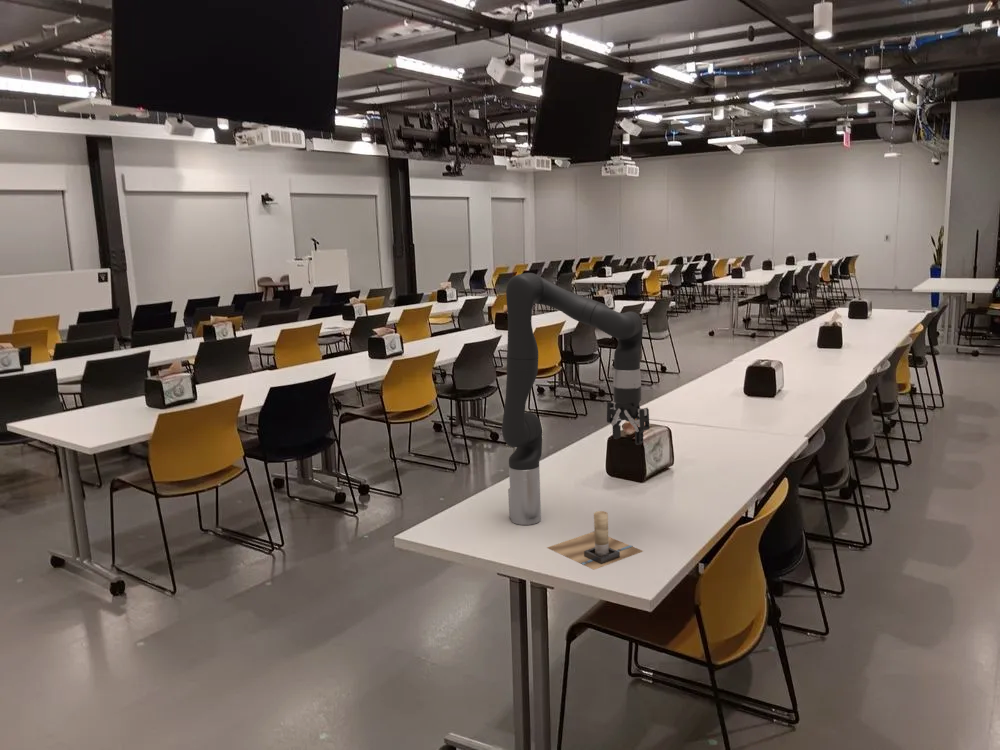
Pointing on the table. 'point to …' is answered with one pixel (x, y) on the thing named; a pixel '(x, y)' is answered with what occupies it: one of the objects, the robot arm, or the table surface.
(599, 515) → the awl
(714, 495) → the table surface
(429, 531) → the table surface
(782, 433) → the table surface
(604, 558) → the pilot collar
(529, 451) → the robot arm
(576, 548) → the board
